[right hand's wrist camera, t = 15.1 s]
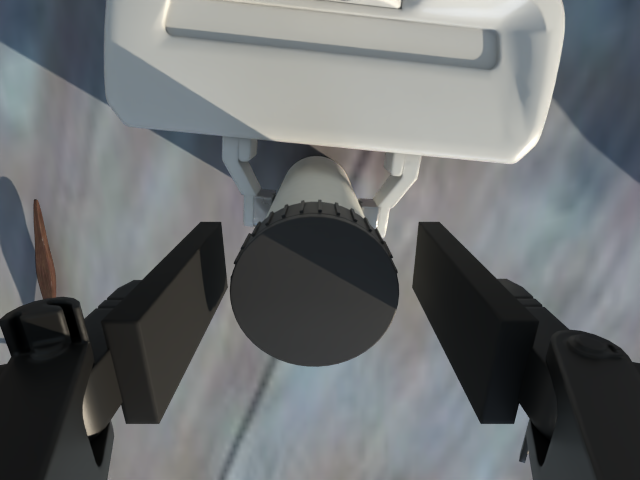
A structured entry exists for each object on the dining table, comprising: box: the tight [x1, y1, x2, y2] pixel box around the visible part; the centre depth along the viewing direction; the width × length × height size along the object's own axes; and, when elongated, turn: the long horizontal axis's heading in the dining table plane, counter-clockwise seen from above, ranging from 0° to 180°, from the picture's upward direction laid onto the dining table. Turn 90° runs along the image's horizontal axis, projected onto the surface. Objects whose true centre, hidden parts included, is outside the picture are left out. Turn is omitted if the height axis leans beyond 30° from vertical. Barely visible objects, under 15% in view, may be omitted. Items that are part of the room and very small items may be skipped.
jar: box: [265, 156, 365, 219], centre depth 19 cm, size 5×5×15 cm
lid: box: [230, 200, 399, 367], centre depth 12 cm, size 5×5×2 cm
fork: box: [34, 199, 56, 299], centre depth 27 cm, size 3×16×2 cm, turn 172°
